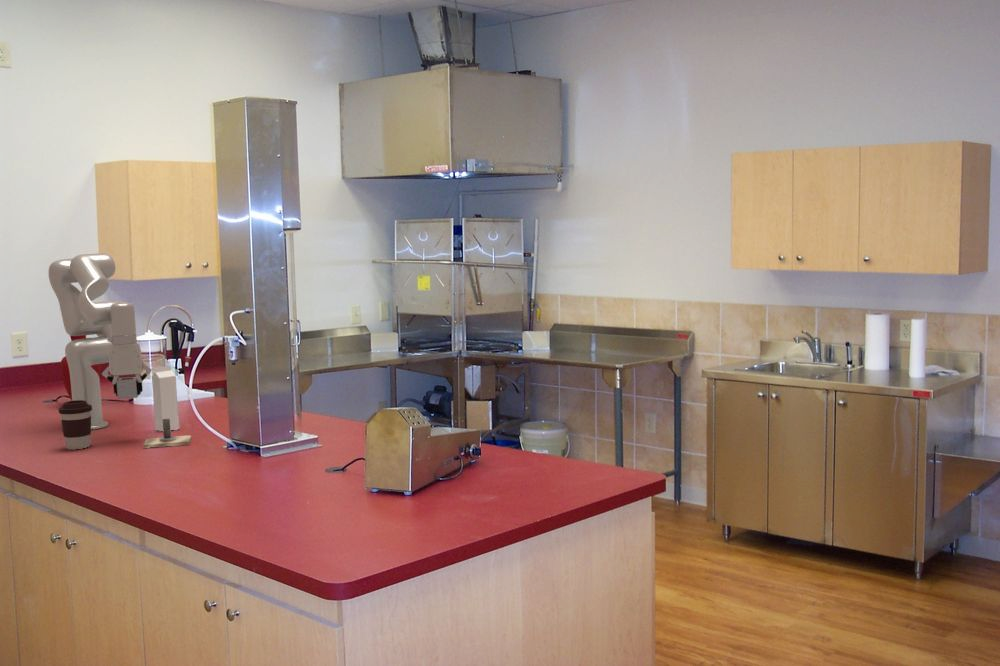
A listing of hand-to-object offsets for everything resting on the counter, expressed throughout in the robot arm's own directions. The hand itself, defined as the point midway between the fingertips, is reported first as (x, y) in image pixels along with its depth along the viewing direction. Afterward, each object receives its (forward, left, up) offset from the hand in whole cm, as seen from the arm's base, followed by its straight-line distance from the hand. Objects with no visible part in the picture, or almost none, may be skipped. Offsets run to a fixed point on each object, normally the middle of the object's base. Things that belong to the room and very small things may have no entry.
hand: (128, 394), depth 340 cm
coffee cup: (-16, -4, -16) cm, 23 cm away
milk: (+10, +15, -16) cm, 24 cm away
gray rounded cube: (0, 0, -1) cm, 1 cm away
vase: (-27, +79, -16) cm, 85 cm away
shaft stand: (+12, -9, -16) cm, 22 cm away
